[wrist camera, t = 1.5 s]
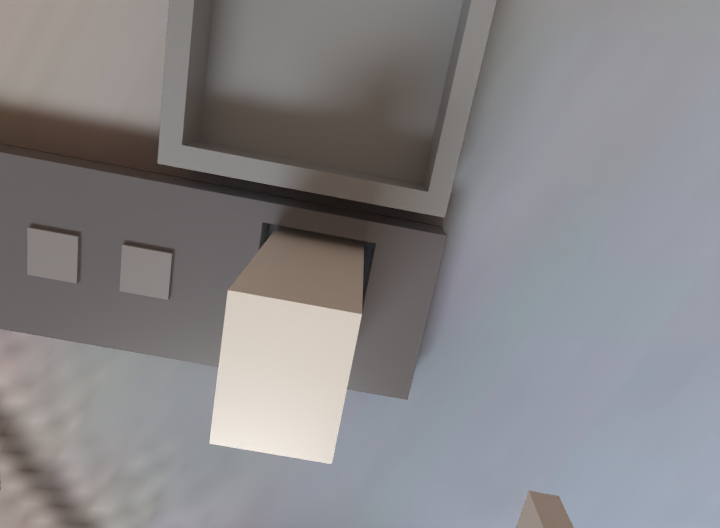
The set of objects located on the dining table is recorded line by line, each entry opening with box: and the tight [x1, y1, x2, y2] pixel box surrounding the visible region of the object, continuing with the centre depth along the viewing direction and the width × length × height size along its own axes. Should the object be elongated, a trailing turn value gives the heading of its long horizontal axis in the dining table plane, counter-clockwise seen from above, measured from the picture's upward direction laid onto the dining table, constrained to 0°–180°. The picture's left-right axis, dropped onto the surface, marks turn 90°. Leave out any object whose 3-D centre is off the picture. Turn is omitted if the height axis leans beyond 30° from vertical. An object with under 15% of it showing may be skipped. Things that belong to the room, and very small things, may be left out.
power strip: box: [0, 144, 447, 400], centre depth 26 cm, size 24×9×3 cm, turn 79°
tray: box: [157, 0, 497, 218], centre depth 22 cm, size 13×13×3 cm
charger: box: [210, 225, 364, 464], centre depth 23 cm, size 4×6×10 cm
